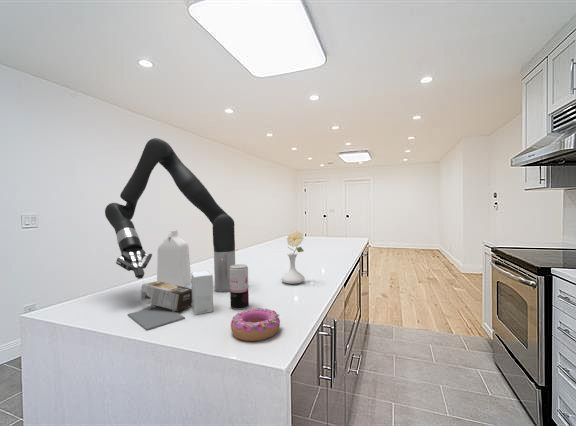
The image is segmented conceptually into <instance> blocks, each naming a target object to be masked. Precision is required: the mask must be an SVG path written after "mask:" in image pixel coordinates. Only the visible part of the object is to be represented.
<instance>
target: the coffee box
mask: <svg viewBox="0 0 576 426" xmlns="http://www.w3.org/2000/svg"><path fill="white" fill-rule="evenodd" d="M138 301H139V302H142V303H146V304H150V305H154V306H160V307H164V308H167V309H171V310H173V311H175V312H179V311H182V310H185V309H187V308H190V307H192V288H189V287H186V286H185V287H181V286H177V285H173V284H169V283H165V282H161V281H157V280H156V281H152V282H148V283H147V282H146V283H142V284H141V289H140V294H139V298H138Z"/></svg>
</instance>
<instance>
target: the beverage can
mask: <svg viewBox="0 0 576 426" xmlns="http://www.w3.org/2000/svg"><path fill="white" fill-rule="evenodd" d="M248 267H249V266H248V265H247V264H243V263H242V264H241V263H240V264H235V265H232V266H230V291H229V292H230V308H231V309H233V310H235V311H236V310H239V311H240V310H246V309H248V307H249V305H250V303H249V301H250V300H249V296H250V295H249V268H248Z"/></svg>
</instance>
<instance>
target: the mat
mask: <svg viewBox="0 0 576 426" xmlns="http://www.w3.org/2000/svg"><path fill="white" fill-rule="evenodd" d="M127 316H128V317H129V318H130V319H131V320H133V321H134V322H135V323H136V324H138V325H139V326H140V327H142V328H143V329H144V330H145V331H150V330H152V329H153V330H154V329H157V328H159V327H164V326H166V325H169V324H173V323H176V322H179V321H182V320H185V319H186V317H185V316H184V315H182V314H180V313H179V312H178V311H175V310H171V309H167V308H164V307H160V306H157V305H155V306H154V307H150V308H145V309H142V310H138V311H134V312H130V313H129V312H128V313H127Z"/></svg>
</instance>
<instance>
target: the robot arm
mask: <svg viewBox="0 0 576 426" xmlns="http://www.w3.org/2000/svg"><path fill="white" fill-rule="evenodd" d="M158 164H160V165H161V167H163V168H164V169H165V170H166V171H167V172H168V173H169V175H170V176H171V178H172V180H173V181H174V184H175V185H176V187H177V188H178V190H179V191H180V192H181V194H182V195H184V197H185V198H186V200H188V201H189V202H190V204H192V205H193V207H195V208H197V209H198V210H199V212H202V213H203V214H204V215H205V216H206V218H207V219H208V221H209V222H210V223H211V225H212V243H213V266H214V267H213V269H214V291H216V292H219V293H220V292H221V293H225V292H226V293H227V292H230V266H232V265H236V240H235V236H236V235H235V221H234V218H232V217H231V216H230V215H229V214H228V213H227V212H226V211H225V210H224V209H223V208H222V207H221V206H220V205H219V204H218V203H217V202H216V200H215V199H214V197H213V196H212V194H210V192H209V191H208V189H207V188H206V187H205V185H204V184H203V183H202V182H201V180H200V179H199V178H198V177H197V176H196V175H195V173H194V172H192V170H190V169H189V168H188V167H187V166H186V165H185V164H184V163H183V162H182V161H181V159H180V157H179V156H178V155H177V153H176V152H175V150H174V149H173V147H171V145H170V143H168V142H167V141H165V140H164V139H161V138H157V137H154V138H151V139H149V140H148V141H146V143H145V145H144V148H143V150H142V153H141V156H140V158H139V161H138V162H137V165H136V167H135V169H134V170H133V173H132V175H130V176H131V177H130V178H129V179H128V181H127V183H126V185H125V186H124V188H123V190H121V192H120V194H119V196H120V199H121V200H122V201H124V202H125V203H126V204H125V205H124V204H120V203H117V202H110V203H108V204H107V205H106V207H105V208H104V214H105V218H106V219H107V221H108V222H109V224H110V226H111V227H112V228H113V229H114V231H115V236H116V241H117V245H118V247H119V248H118V249H119V250H120V253H121V255H120V256H119V257H117V258H116V261H115V264H116V265H117V266H119V267H121V268H123V269H124V270H126V271H128V272H130V271H133V273H134V276H135V278H136V279H138V280H140V279H143V277H144V276H145V271H144V269H146V268H147V267H148V264H149V263H150V261H151V260H152V257H153V253H149V254H148V253H146V251H145V250H144V248H143V246H142V243H141V242H142V241H141V240H140V236H139V234H138V232H137V231H136V228H135V224H134V222H133V221H132V219H133V217H134V215H135V212H136V211H135V210H136V207H137V204H138V201H139V199H140V198H141V197H142V195H143V193H144V191H145V190H146V187H147V185H148V182H149V180H150V176H151V174H152V172H153V170H154V168H155V167H156V166H157V165H158ZM144 259H145V260H144ZM143 260H144V262H143Z"/></svg>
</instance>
